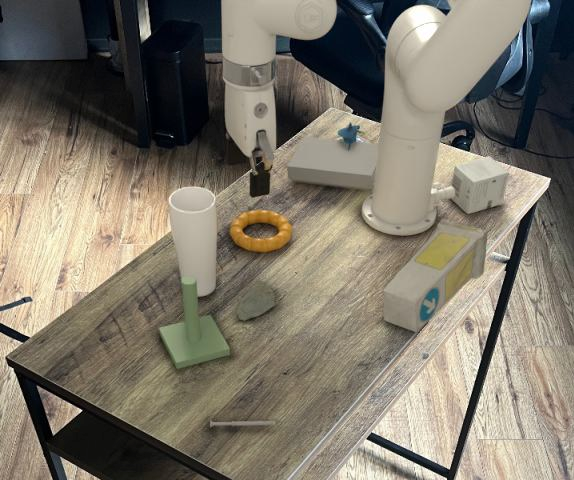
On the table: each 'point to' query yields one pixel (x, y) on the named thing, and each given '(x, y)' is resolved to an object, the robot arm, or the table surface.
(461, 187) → the product carton
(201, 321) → the rack
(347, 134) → the toy figurine
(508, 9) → the robot arm
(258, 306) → the rock
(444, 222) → the toppled traffic bollard
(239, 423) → the wall anchor
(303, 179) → the flat grey box
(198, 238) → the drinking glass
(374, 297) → the table surface
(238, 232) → the ring
